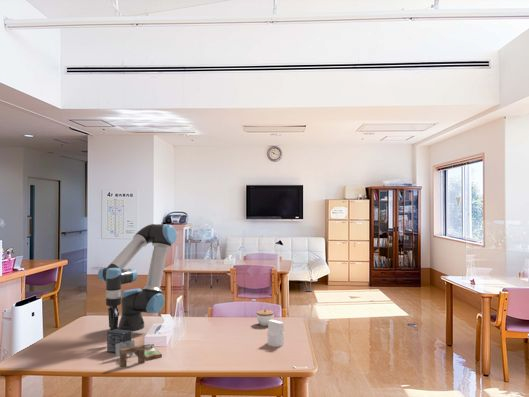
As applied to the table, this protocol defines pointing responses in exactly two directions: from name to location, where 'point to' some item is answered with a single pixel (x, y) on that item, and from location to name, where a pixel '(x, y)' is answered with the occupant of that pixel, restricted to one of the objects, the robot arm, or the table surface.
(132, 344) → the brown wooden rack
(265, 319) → the lidded jar
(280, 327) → the white upright cylinder
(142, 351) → the gauge bench
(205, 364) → the table surface
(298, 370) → the table surface
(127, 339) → the small box
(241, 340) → the table surface
